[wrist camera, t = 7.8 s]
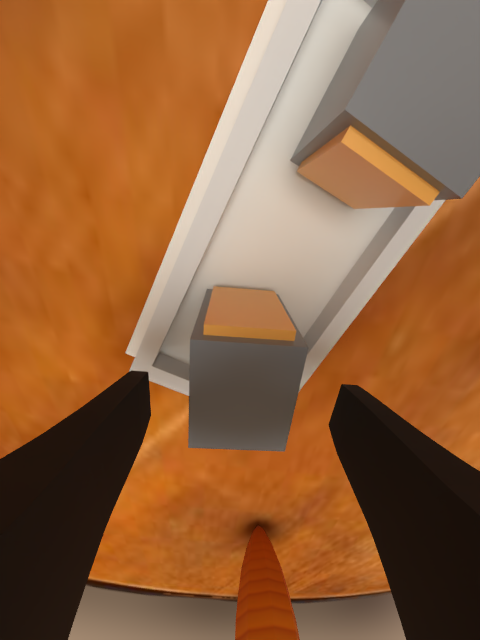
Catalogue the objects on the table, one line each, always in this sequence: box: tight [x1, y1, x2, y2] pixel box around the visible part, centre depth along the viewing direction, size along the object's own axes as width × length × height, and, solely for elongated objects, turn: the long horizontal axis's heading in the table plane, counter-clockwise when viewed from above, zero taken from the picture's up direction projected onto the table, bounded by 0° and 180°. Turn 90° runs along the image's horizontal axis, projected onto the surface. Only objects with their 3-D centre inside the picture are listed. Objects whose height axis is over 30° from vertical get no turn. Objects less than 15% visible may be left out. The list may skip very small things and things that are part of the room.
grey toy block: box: [290, 0, 480, 209], centre depth 8 cm, size 4×5×6 cm
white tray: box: [126, 0, 445, 396], centre depth 13 cm, size 11×20×2 cm, turn 152°
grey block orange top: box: [188, 286, 309, 451], centre depth 12 cm, size 4×5×6 cm
